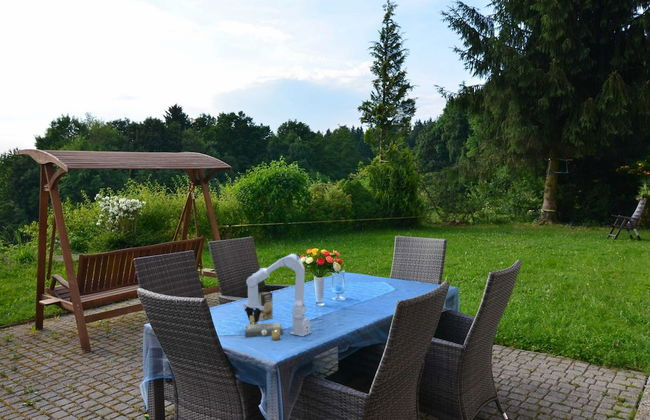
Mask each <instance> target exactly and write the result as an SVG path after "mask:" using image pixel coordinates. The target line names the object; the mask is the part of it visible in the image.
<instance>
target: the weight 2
mask: <svg viewBox="0 0 650 420" xmlns="http://www.w3.org/2000/svg"><path fill="white" fill-rule="evenodd" d="M271 340H272V341H275V342H276V341H277V342H278V341H280V340H281V335H280V329H273V330H272V336H271Z"/></svg>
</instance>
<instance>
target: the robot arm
mask: <svg viewBox="0 0 650 420" xmlns="http://www.w3.org/2000/svg"><path fill="white" fill-rule="evenodd" d="M280 267H287V268H288V269H289V268H290V269H291V270H292V271H294V272H295V282H294V283H295V287H294V303H293V309H292V310H291V315H292V331H290V332H289V335H295V336H299V337H304V336H308V335H309V334H311V333H312V331H311V320H310V319H309V318H307V317H306V314H305V313H306V312H307V311H306V310H307V307H306V305H305V273H306V271H305V270H306V269H305V266H304V264H303V262H302V261H301V258H300V257H299V256H298V255H297V254H296V253H290V254H288V255H286V256H284V257H282V258H279V259H278V260H276V261H275V262H274V263H273V264H271V265H270V266H268V267H261V268H259V269H258V271H256V272H255V273H254V272H253V273H252V275H251V276H248V277H247V278H246V281H245V282H246V285H247V302H244V303H243V304H242V307H243V308H244V311H245V314H246V315H247V318H248V321H249V322H250V314H254V319H255V322H258V323H259V322H260V320H259V317H260V314H261V312H262V310H264V306H261V305H259V304H258V293H259V284H260V283H261V282H262V281H264V280H265V279H267V278H269V277H270V274H271V273H272V272H274V271H275V270H276V269H278V268H280Z"/></svg>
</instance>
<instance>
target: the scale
mask: <svg viewBox="0 0 650 420" xmlns="http://www.w3.org/2000/svg"><path fill="white" fill-rule="evenodd" d="M273 329H280V336H283V335H284V334H283V326H282V324H281V323H280V322H268V323H258V324H256V325H251V324H250V323H249V324H247V325H245V338H253V337H255V338H256V337H268V336H269V337H272V330H273Z"/></svg>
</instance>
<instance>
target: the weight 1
mask: <svg viewBox="0 0 650 420" xmlns="http://www.w3.org/2000/svg"><path fill="white" fill-rule="evenodd" d="M250 324H251V325H256V324H259V321H258V322H255V319H254V313H253V314H250V321H249V325H250Z"/></svg>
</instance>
